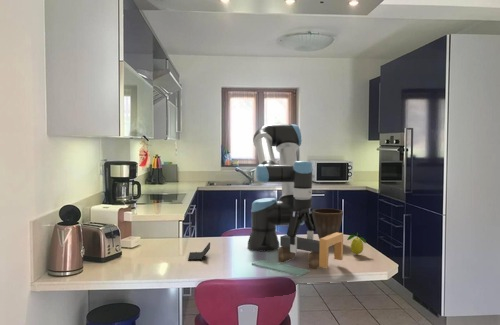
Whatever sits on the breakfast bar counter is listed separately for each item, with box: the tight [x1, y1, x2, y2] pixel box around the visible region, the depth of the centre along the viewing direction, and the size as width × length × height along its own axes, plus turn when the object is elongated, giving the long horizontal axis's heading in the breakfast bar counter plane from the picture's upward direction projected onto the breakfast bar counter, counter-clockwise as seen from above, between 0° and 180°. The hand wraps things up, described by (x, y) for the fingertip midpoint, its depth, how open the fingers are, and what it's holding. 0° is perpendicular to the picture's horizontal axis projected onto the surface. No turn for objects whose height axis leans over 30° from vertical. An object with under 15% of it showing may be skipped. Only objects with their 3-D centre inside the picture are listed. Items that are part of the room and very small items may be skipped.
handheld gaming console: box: [187, 242, 211, 262], centre depth 175 cm, size 12×7×10 cm
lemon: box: [347, 232, 367, 256], centre depth 180 cm, size 7×6×10 cm
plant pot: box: [313, 208, 344, 240], centre depth 203 cm, size 15×15×16 cm
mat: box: [251, 259, 311, 277], centre depth 160 cm, size 23×7×1 cm, turn 52°
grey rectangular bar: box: [279, 234, 320, 253], centre depth 167 cm, size 19×4×4 cm, turn 52°
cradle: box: [277, 246, 320, 270], centre depth 167 cm, size 17×10×6 cm, turn 52°
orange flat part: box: [318, 232, 344, 269], centre depth 159 cm, size 3×14×11 cm, turn 142°
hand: (302, 249), depth 167 cm, fingers open, 13 cm apart
